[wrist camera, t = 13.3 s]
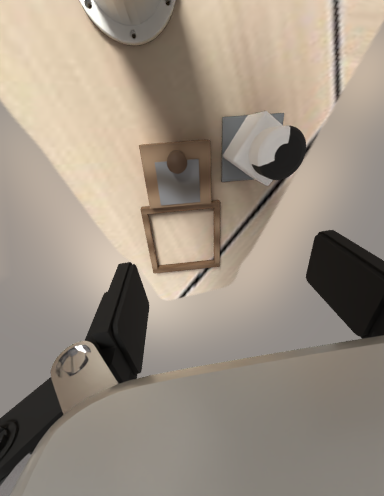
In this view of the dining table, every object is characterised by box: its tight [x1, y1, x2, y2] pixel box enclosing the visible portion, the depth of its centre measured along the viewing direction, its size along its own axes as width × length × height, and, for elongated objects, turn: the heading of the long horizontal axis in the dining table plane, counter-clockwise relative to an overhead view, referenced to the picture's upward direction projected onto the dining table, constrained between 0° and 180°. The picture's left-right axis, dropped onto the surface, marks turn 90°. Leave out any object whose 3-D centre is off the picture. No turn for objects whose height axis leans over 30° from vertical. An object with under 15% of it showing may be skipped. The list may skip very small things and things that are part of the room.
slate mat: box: [221, 113, 284, 182], centre depth 34 cm, size 10×10×1 cm
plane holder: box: [139, 140, 220, 273], centre depth 37 cm, size 26×15×6 cm, turn 4°
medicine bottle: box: [223, 111, 306, 186], centre depth 29 cm, size 7×7×12 cm
